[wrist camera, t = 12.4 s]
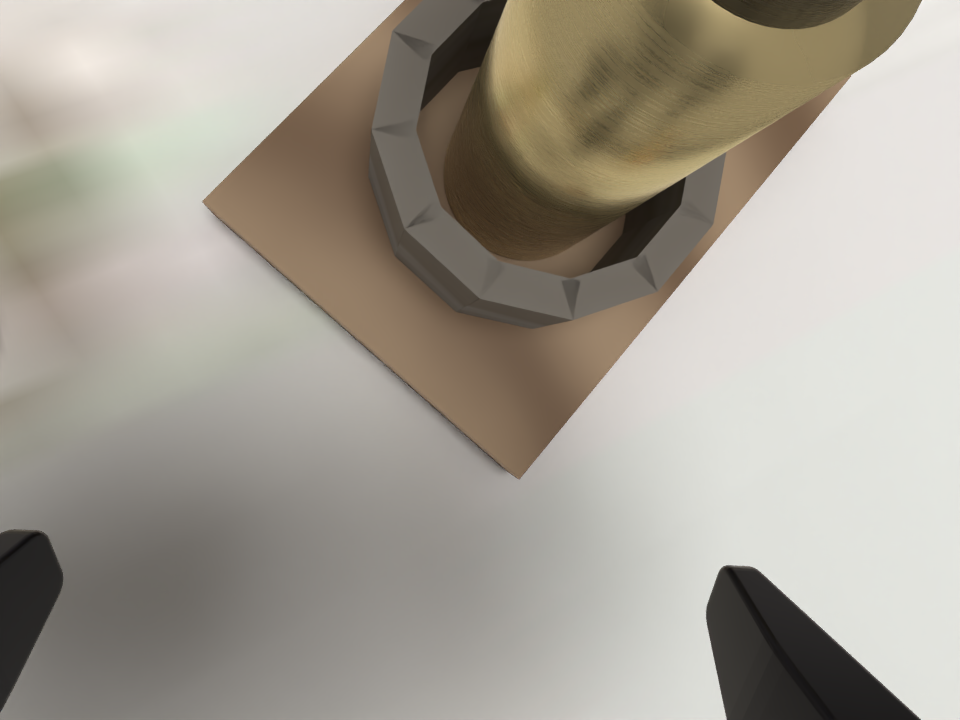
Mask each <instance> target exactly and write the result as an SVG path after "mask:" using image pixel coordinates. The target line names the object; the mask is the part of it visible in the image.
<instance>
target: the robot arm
mask: <svg viewBox="0 0 960 720" xmlns="http://www.w3.org/2000/svg"><path fill="white" fill-rule="evenodd" d="M62 585H63V572H62V569H61V567H60V564H59V562H58V560H57V557H56V555H55V552H54V550H53V547H52V545H51V542H50V540H49V538H48V536H47V535H46V534H45V533H43V532H42V531H37V530H16V529H14V530H8V531H5V532H3V533H1V534H0V712H1V710H2V709H3V707H4V705H5V703H6V701H7V699H8V697H9V695H10V693H11V692H12V690H13V688H14V686H15V684H16V682H17V680H18V678H19V676H20V673H21V671H22V669H23V667H24V665H25V663H26V661H27V659H28V657H29V655H30V653H31V651H32V649H33V647H34V645H35V643H36V641H37V639H38V637H39V635H40V633H41V631H42V629H43V627H44V625H45V622H46V620H47V618H48V616H49V614H50V612H51V610H52V608H53V606H54V604H55V602H56V600H57V598H58V596H59V594H60V591H61V588H62ZM706 620H707V627H708V632H709V636H710V641H711V646H712V651H713V656H714V660H715V665H716V670H717V675H718V680H719V685H720V689H721V694H722V699H723V704H724V709H725V714H726V718H727V720H921V719H920V718H919V717H918V716H917V715H915V714H914V713H913V712H912V711H911V710H910V709H909V708H908V707H907V706H906V705H905V704H903V703H902V702H901V701H900V700H899V699H898V698H897V697H896V696H895V695H894V694H893V693H891V692H890V691H889V690H888V689H887V688H886V687H885V686H884V685H883V684H882V683H881V682H880V681H878V680H877V679H876V678H875V677H874V676H873V675H872V674H871V673H870V672H869V671H868V670H866V669H865V668H864V667H863V666H862V665H861V664H860V663H859V662H858V661H857V660H856V659H854V658H853V657H852V656H851V655H850V654H849V653H848V652H847V651H846V650H845V649H844V648H843V647H841V646H840V645H839V644H838V643H837V642H836V641H835V640H834V639H833V638H832V637H831V636H829V635H828V634H827V633H826V632H825V631H824V630H823V629H822V628H821V627H820V626H819V625H817V624H816V623H815V622H814V621H813V620H812V619H811V618H810V617H809V616H808V615H807V614H806V613H804V612H803V611H802V610H801V609H800V608H799V607H798V606H797V605H796V604H795V603H794V602H792V601H791V600H790V599H789V598H788V597H787V596H786V595H785V594H784V593H783V592H782V591H780V590H779V589H778V588H777V587H776V586H775V585H774V584H773V583H772V582H771V581H770V580H768V579H767V578H766V577H765V576H764V575H763V574H762V573H761V572H760V571H758V570H757V569H755V568H753V567H750V566H732V565H726V566H723V567H722V568H721V569H720V571H719V573H718V575H717V578H716V581H715V584H714V587H713V590H712V593H711V595H710V598H709V601H708V604H707V610H706Z"/></svg>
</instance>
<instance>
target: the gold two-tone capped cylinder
mask: <svg viewBox="0 0 960 720" xmlns="http://www.w3.org/2000/svg"><path fill="white" fill-rule="evenodd" d="M921 1H922V0H507V3H506V5H505V8H504V10H503V13H502V15H501V18H500V20H499V22H498V25H497V27H496V30H495V32H494V35H493V37H492V40H491V42H490V45H489V47H488V49H487V52H486V54H485V57H484V59H483V62H482V64H481V67H480V69H479V71H478V74H477V76H476V79H475V81H474V84H473V86H472V89H471V91H470V93H469V96H468V98H467V101H466V103H465V106H464V108H463V111H462V113H461V116H460V118H459V120H458V123H457V125H456V128H455V130H454V133H453V135H452V138H451V140H450V142H449V145H448V148H447V151H446V155H445V160H444V174H443V178H444V186H445V192H446V196H447V199H448V202H449V205H450V207H451V210H452V212H453V213H454V215H455V217H456V219H457V221H458V222H459V223H460V225H461V226H462V227H463V228H464V229H465V230H466V231H467V232H468V233H469V234H470V235H472V236H473V237H474V238H475V239H476V240H477V241H478V242H479V243H480V244H481V245H482V246H483V247H485V248H486V249H488V250H489V251H492V252H494V253H496V254H498V255H501V256H504V257H507V258H510V259H516V260H527V261H531V260H541V259H545V258H550V257H552V256H555V255H558V254H560V253H562V252H564V251H565V250H567V249H569V248H571V247H572V246H574V245H575V244H577V243H579V242H580V241H582V240H584V239H585V238H587V237H588V236H590V235H592V234H593V233H595V232H597V231H598V230H600V229H601V228H603V227H605V226H606V225H608V224H610V223H611V222H613V221H614V220H616V219H618V218H619V217H621V216H623V215H624V214H626V213H627V212H629V211H631V210H632V209H634V208H636V207H637V206H639V205H640V204H642V203H644V202H645V201H647V200H649V199H650V198H652V197H653V196H655V195H657V194H658V193H660V192H662V191H663V190H665V189H666V188H668V187H670V186H671V185H673V184H675V183H676V182H678V181H679V180H681V179H683V178H684V177H686V176H688V175H689V174H691V173H692V172H694V171H696V170H697V169H699V168H701V167H702V166H704V165H705V164H707V163H709V162H710V161H712V160H714V159H715V158H717V157H718V156H720V155H722V154H723V153H725V152H727V151H728V150H730V149H731V148H733V147H735V146H736V145H738V144H740V143H741V142H743V141H744V140H746V139H748V138H749V137H751V136H753V135H754V134H756V133H757V132H759V131H761V130H762V129H764V128H766V127H767V126H769V125H770V124H772V123H774V122H775V121H777V120H779V119H780V118H782V117H783V116H785V115H787V114H788V113H790V112H792V111H793V110H795V109H796V108H798V107H800V106H801V105H803V104H805V103H806V102H808V101H809V100H811V99H813V98H814V97H816V96H818V95H819V94H821V93H822V92H824V91H826V90H827V89H829V88H831V87H832V86H834V85H835V84H837V83H839V82H840V81H842V80H844V79H845V78H847V77H848V76H850V75H852V74H853V73H855V72H857V71H858V70H860V69H861V68H863V67H865V66H866V65H868V64H870V63H871V62H872V61H874V60H875V59H876V58H877V57H879V56H880V55H881V54H883V53H884V52H885V51H887V49H888V48H889V47H890V46H891V45H892V44H893V43H894V42H895V41H896V40H897V39H898V38H899V37H900V36H901V34H902V33H903V32H904V30H905V29H906V27H907V26H908V24H909V23H910V21H911V20H912V19H913V17H914V15H915V13H916V11H917V9H918V7H919V5H920V3H921Z"/></svg>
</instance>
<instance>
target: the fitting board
mask: <svg viewBox="0 0 960 720" xmlns="http://www.w3.org/2000/svg"><path fill="white" fill-rule="evenodd" d="M506 3H507V0H405V1H404V2H403V3H402V4H401V5H400V6H398V7H397V8H396V9H395V10H394V11H393V12H392V13H391V14H390V15H389V16H388V17H387V18H386V19H385V20H384V21H383V22H382V23H381V24H380V25H379V26H378V27H377V28H376V29H375V30H374V31H373V32H372V33H371V34H370V35H369V36H368V37H367V38H366V39H365V40H364V41H363V42H362V43H361V44H360V45H359V46H358V47H357V48H356V49H355V50H354V51H353V52H352V53H351V54H350V55H349V56H348V57H347V58H346V59H345V60H344V61H343V62H342V63H341V64H340V65H339V66H338V67H337V68H336V69H335V70H334V71H333V72H332V73H331V74H330V75H329V76H328V77H327V78H326V79H325V80H324V81H323V82H322V83H321V84H320V85H319V86H318V87H317V88H316V89H315V90H314V91H313V92H312V93H311V94H310V95H309V96H308V97H307V98H306V99H305V100H304V101H303V102H302V103H301V104H300V105H299V106H298V107H297V108H296V109H295V110H294V111H293V112H292V113H291V114H290V115H289V116H288V117H287V118H286V119H285V120H284V121H283V122H282V123H281V124H280V125H279V126H278V127H277V128H276V129H275V130H274V131H273V132H272V133H271V134H270V135H269V136H268V137H267V138H266V139H264V140H263V141H262V142H261V143H260V144H259V145H258V146H257V147H256V148H255V149H254V150H253V151H252V152H251V153H250V154H249V155H248V156H247V157H246V158H245V159H244V160H243V161H242V162H241V163H240V164H239V165H238V166H237V167H236V168H235V169H234V170H233V171H232V172H231V173H230V174H229V175H228V176H227V177H226V178H225V179H224V180H223V181H222V182H221V183H220V184H219V185H218V186H217V187H216V188H215V189H214V190H213V191H212V192H211V193H210V194H209V195H208V196H207V197H206V198H205V199H204V200H203V201H202V202H203V203H204V204H205V205H206V206H207V207H208V209H209V210H210V211H211V212H212V213H213V214H214V215H215V216H216V217H217V218H218V219H220V220H221V221H222V222H223V223H224V224H225V225H226V226H228V227H229V228H230V229H231V230H232V231H233V232H234V233H236V234H237V235H238V236H239V237H240V238H241V239H242V240H244V241H245V242H246V243H247V244H248V245H249V246H250V247H252V248H253V249H254V250H255V251H256V252H257V253H258V254H260V255H261V256H262V257H263V258H264V259H265V260H266V261H268V262H269V263H270V264H271V265H272V266H273V267H274V268H276V269H277V270H278V271H279V272H280V273H281V274H282V275H283V276H285V277H286V278H287V279H288V280H289V281H290V282H291V283H293V284H294V285H295V286H296V287H297V288H298V289H299V290H301V291H302V292H303V293H304V294H305V295H306V296H307V297H309V298H310V299H311V300H312V301H313V302H314V303H315V304H317V305H318V306H319V307H320V308H321V309H322V310H323V311H325V312H326V313H327V314H328V315H329V316H330V317H331V318H333V319H334V320H335V321H336V322H337V323H338V324H339V325H341V326H342V327H343V328H344V329H345V330H346V331H347V332H349V333H350V334H351V335H352V336H353V337H354V338H355V339H357V340H358V341H359V342H360V343H361V344H362V345H363V346H365V347H366V348H367V349H368V350H369V351H370V352H371V353H373V354H374V355H375V356H376V357H377V358H378V359H379V360H381V361H382V362H383V363H384V364H385V365H386V366H387V367H389V368H390V369H391V370H392V371H393V372H394V373H395V374H396V375H398V376H399V377H400V378H401V379H402V380H403V381H404V382H406V383H407V384H408V385H409V386H410V387H411V388H412V389H414V390H415V391H416V392H417V393H418V394H419V395H420V396H422V397H423V398H424V399H425V400H426V401H427V402H428V403H430V404H431V405H432V406H433V407H434V408H435V409H436V410H438V411H439V412H440V413H441V414H442V415H443V416H444V417H446V418H447V419H448V420H449V421H450V422H451V423H452V424H454V425H455V426H456V427H457V428H458V429H459V430H460V431H462V432H463V433H464V434H465V435H466V436H467V437H468V438H470V439H471V440H472V441H473V442H474V443H475V444H476V445H478V446H479V447H480V448H481V449H482V450H483V451H484V452H486V453H487V454H488V455H489V456H490V457H491V458H492V459H494V460H495V461H496V462H497V463H498V464H499V465H500V466H502V467H503V468H504V469H505V470H506V471H507V472H509V473H510V474H512V475H513V476H515V477H516V478H518V479H520V478H521V477H522V475H523V474H524V473H525V472H526V471H527V469H528V468H529V467H530V466H531V464H532V463H533V462H534V461H535V460H536V458H537V457H538V456H539V455H540V453H541V452H542V451H543V450H544V449H545V447H546V446H547V445H548V444H549V443H550V441H551V440H552V439H553V438H554V436H555V435H556V434H557V433H558V432H559V430H560V429H561V428H562V427H563V426H564V424H565V423H566V422H567V421H568V419H569V418H570V417H571V416H572V415H573V413H574V412H575V411H576V410H577V409H578V407H579V406H580V405H581V404H582V402H583V401H584V400H585V399H586V398H587V396H588V395H589V394H590V393H591V392H592V390H593V389H594V388H595V387H596V385H597V384H598V383H599V382H600V381H601V379H602V378H603V377H604V376H605V375H606V373H607V372H608V371H609V370H610V368H611V367H612V366H613V365H614V364H615V362H616V361H617V360H618V359H619V358H620V356H621V355H622V354H623V353H624V351H625V350H626V349H627V348H628V347H629V345H630V344H631V343H632V342H633V340H634V339H635V338H636V337H637V336H638V334H639V333H640V332H641V331H642V330H643V328H644V327H645V326H646V325H647V323H648V322H649V321H650V320H651V319H652V317H653V316H654V315H655V314H656V313H657V311H658V310H659V309H660V308H661V306H662V305H663V304H664V303H665V302H666V300H667V299H668V298H669V297H670V296H671V294H672V293H673V292H674V291H675V289H676V288H677V287H678V286H679V285H680V283H681V282H682V281H683V280H684V279H685V277H686V276H687V275H688V274H689V272H690V271H691V270H692V269H693V268H694V266H695V265H696V264H697V263H698V262H699V260H700V259H701V258H702V257H703V255H704V254H705V253H706V252H707V251H708V249H709V248H710V247H711V246H712V245H713V243H714V242H715V241H716V240H717V238H718V237H719V236H720V235H721V234H722V232H723V231H724V230H725V229H726V227H727V226H728V225H729V224H730V223H731V221H732V220H733V219H734V218H735V217H736V215H737V214H738V213H739V212H740V210H741V209H742V208H743V207H744V206H745V204H746V203H747V202H748V201H749V200H750V198H751V197H752V196H753V195H754V193H755V192H756V191H757V190H758V189H759V187H760V186H761V185H762V184H763V183H764V181H765V180H766V179H767V178H768V176H769V175H770V174H771V173H772V172H773V170H774V169H775V168H776V167H777V166H778V164H779V163H780V162H781V161H782V159H783V158H784V157H785V156H786V155H787V153H788V152H789V151H790V150H791V149H792V147H793V146H794V145H795V144H796V142H797V141H798V140H799V139H800V138H801V136H802V135H803V134H804V133H805V132H806V130H807V129H808V128H809V127H810V125H811V124H812V123H813V122H814V121H815V119H816V118H817V117H818V116H819V114H820V113H821V112H822V111H823V110H824V108H825V107H826V106H827V105H828V104H829V102H830V101H831V100H832V99H833V97H834V96H835V95H836V94H837V93H838V91H839V90H840V89H841V88H842V87H843V85H844V84H845V83H846V82H847V80H848V79H849V78H850V77H851V75H850V76H848V77H847V78H845V79H844V80H842V81H840V82H839V83H837V84H835V85H834V86H832V87H831V88H829V89H827V90H826V91H824V92H822V93H821V94H819V95H818V96H816V97H814V98H813V99H811V100H809V101H808V102H806V103H805V104H803V105H801V106H800V107H798V108H796V109H795V110H793V111H792V112H790V113H788V114H787V115H785V116H783V117H782V118H780V119H779V120H777V121H775V122H774V123H772V124H770V125H769V126H767V127H766V128H764V129H762V130H761V131H759V132H757V133H756V134H754V135H753V136H751V137H749V138H748V139H746V140H744V141H743V142H741V143H740V144H738V145H736V146H735V147H733V148H731V149H730V150H728V151H727V152H725V153H723V154H722V155H720V156H718V157H717V158H715V159H714V160H712V161H710V162H709V163H707V164H705V165H704V166H702V167H701V168H699V169H697V170H696V171H694V172H692V173H691V174H689V175H688V176H686V177H684V178H683V179H681V180H679V181H678V182H676V183H675V184H673V185H671V186H670V187H668V188H666V189H665V190H663V191H662V192H660V193H658V194H657V195H655V196H653V197H652V198H650V199H649V200H647V201H645V202H644V203H642V204H640V205H639V206H637V207H636V208H634V209H632V210H631V211H629V212H627V213H626V214H624V215H623V216H621V217H619V218H618V219H616V220H614V221H613V222H611V223H610V224H608V225H606V226H605V227H603V228H601V229H600V230H598V231H597V232H595V233H593V234H592V235H590V236H588V237H587V238H585V239H584V240H582V241H580V242H579V243H577V244H575V245H574V246H572V247H571V248H569V249H567V250H565V251H564V252H562V253H560V254H558V255H555V256H552V257H550V258H545V259H541V260H531V261H527V260H516V259H510V258H507V257H504V256H501V255H498V254H496V253H494V252H492V251H489V250H488V249H486V248H485V247H483V246H482V245H481V244H480V243H479V242H478V241H477V240H476V239H475V238H474V237H473V236H472V235H470V234H469V233H468V232H467V231H466V230H465V229H464V228H463V227H462V226H461V225H460V223H459V222H458V221H457V219H456V217H455V215H454V213H453V212H452V210H451V207H450V205H449V202H448V199H447V196H446V192H445V186H444V178H443V174H444V160H445V155H446V151H447V148H448V145H449V142H450V140H451V138H452V135H453V133H454V130H455V128H456V125H457V123H458V120H459V118H460V116H461V113H462V111H463V108H464V106H465V103H466V101H467V98H468V96H469V93H470V91H471V89H472V86H473V84H474V81H475V79H476V76H477V74H478V71H479V69H480V67H481V64H482V62H483V59H484V57H485V54H486V52H487V49H488V47H489V45H490V42H491V40H492V37H493V35H494V32H495V30H496V27H497V25H498V22H499V20H500V18H501V15H502V13H503V10H504V8H505V5H506Z"/></svg>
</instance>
